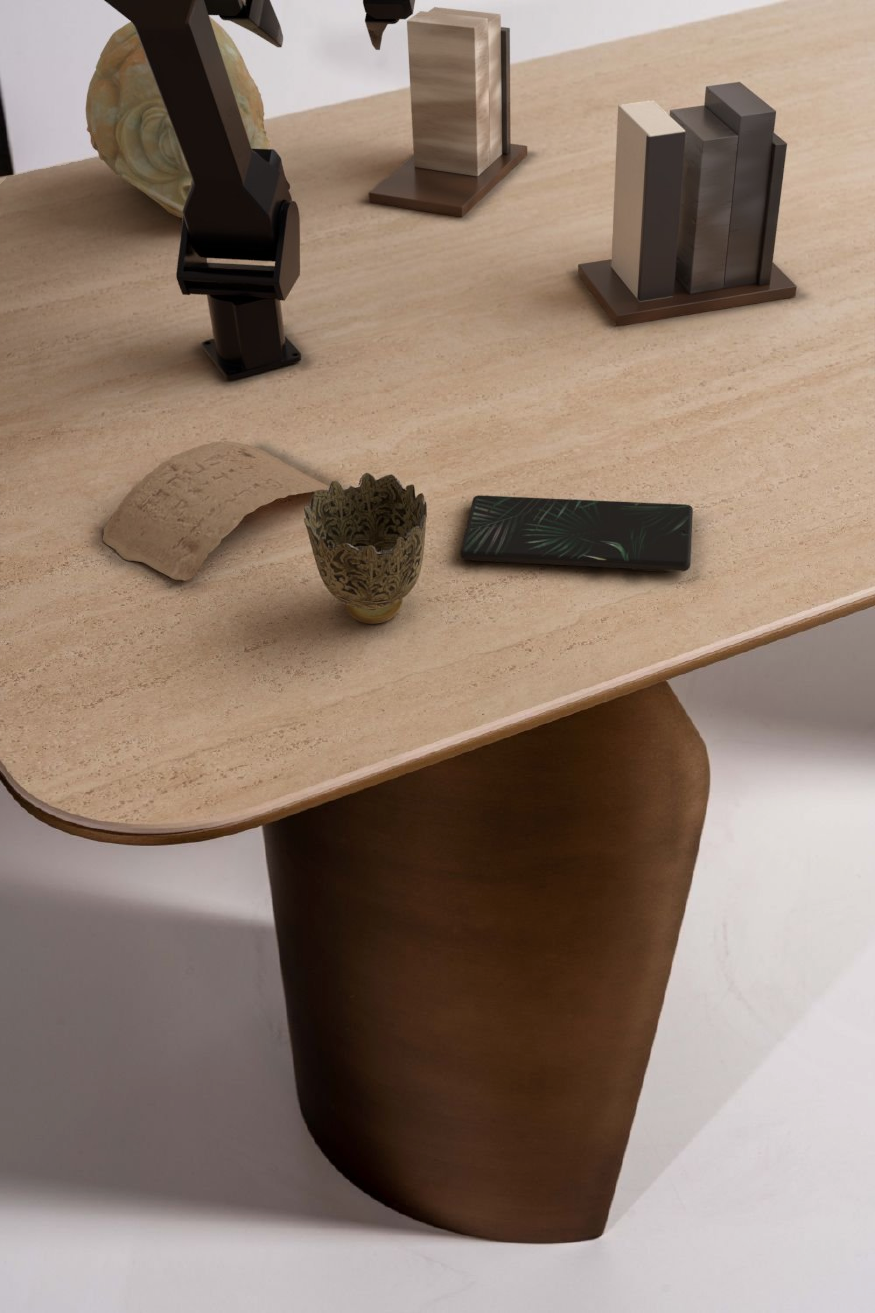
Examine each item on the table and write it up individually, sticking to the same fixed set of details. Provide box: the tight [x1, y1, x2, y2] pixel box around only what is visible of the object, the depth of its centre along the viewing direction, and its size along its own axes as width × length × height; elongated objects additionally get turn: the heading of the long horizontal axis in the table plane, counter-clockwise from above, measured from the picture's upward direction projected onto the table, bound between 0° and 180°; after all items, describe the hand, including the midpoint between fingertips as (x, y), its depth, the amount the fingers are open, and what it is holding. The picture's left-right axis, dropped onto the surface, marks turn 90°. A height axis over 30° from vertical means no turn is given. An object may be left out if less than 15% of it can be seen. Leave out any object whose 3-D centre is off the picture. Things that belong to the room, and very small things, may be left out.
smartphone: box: [459, 494, 694, 573], centre depth 95 cm, size 7×1×15 cm
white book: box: [610, 99, 686, 302], centre depth 116 cm, size 3×7×14 cm, turn 15°
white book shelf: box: [368, 6, 528, 218], centre depth 137 cm, size 16×10×15 cm, turn 154°
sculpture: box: [85, 15, 270, 219], centre depth 136 cm, size 18×20×20 cm
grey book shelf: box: [577, 81, 798, 327], centre depth 117 cm, size 16×10×16 cm, turn 105°
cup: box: [303, 472, 428, 625], centre depth 88 cm, size 8×7×8 cm
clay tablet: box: [102, 440, 330, 581], centre depth 98 cm, size 14×10×3 cm
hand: (329, 44), depth 128 cm, fingers open, 9 cm apart
